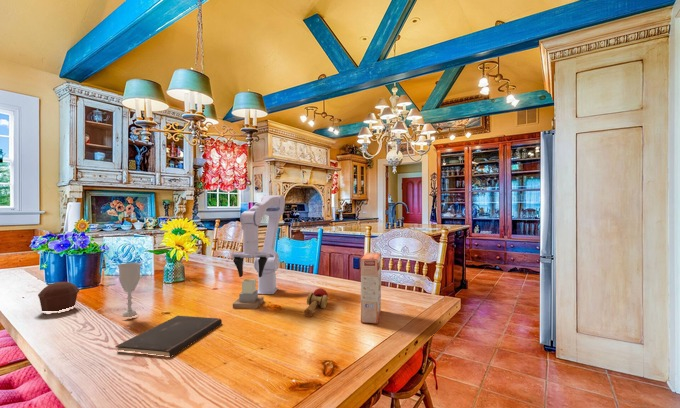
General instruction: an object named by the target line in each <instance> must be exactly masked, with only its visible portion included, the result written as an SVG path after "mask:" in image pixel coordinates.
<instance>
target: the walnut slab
mask: <svg viewBox="0 0 680 408" xmlns="http://www.w3.org/2000/svg"><path fill="white" fill-rule="evenodd" d="M263 303H264V296H258V298H257V299H256V300H255V301H254V302H239V298H238V299H236V300H235V301H234V302H232V309H233V308H250V309H251V310H252V309H254V310H256V309H257V310H258V308H259V307H260V306H261V305H262V304H263Z"/></svg>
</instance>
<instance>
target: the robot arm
mask: <svg viewBox="0 0 680 408" xmlns="http://www.w3.org/2000/svg"><path fill="white" fill-rule="evenodd" d="M285 207H286V200H285V196H284V195H282V194H280V195H276V194H275V195H270V194H269V195H266V194H264V195H262V196H261V198H260V202H255V203H254V204H253V206H251V208H249V209H248V210H244V211H243V212H241V214H240V218H239V220H240V221H239V222H240V226H241V230H242V252H231V255H230V256H231V257H230V258H231V259H233V260H232V261H233V263H234V265H235V266H236V269H237V272H238V278H242V277H243V275H244V273H243V272H244V259H254V260H253V269H254V270H255V271H256V273H257V290H258V295H274V294H275V293H276V292H277V290H279V287H277V276H276V275H277V273H276V272H277V270H278V269H279V267H280V255H279V253H278V252H277V251H275V245H276V240H277V233H278V229H279V223H280V218H281V216H282V215H284V211H285ZM264 216H267V217H268V219H267V225H266V226H267V227H266V230H265V231H266V232H265V236H264V242H263V245H262V246H263V247H262V249H260V250H259V226H260V225H261V222H262V219H263V217H264Z"/></svg>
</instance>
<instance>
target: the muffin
mask: <svg viewBox="0 0 680 408" xmlns="http://www.w3.org/2000/svg"><path fill="white" fill-rule="evenodd" d="M79 292H80V289H79V288H78V287H77V285H75V284H74V283H73V282H69V281H58V282H52V283H50V284H48V285H47V286H44V288H43V289H41V291H40V292H39V293H38V294H37V297H38V299H39V303H40V308H41V312H42V311H59V310H62V309H66V308H69V307H72V306H74V305H75V306H76V303H77V298H78V297H77V296H78V293H79Z"/></svg>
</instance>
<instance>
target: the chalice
mask: <svg viewBox="0 0 680 408" xmlns="http://www.w3.org/2000/svg"><path fill="white" fill-rule="evenodd" d="M142 264H143V263H141V262H125V263H120V264H117V268H118V272H119V273H118V280H119V284H120V286H121V288H122V289H123V291H124V292H126V293H127V297H126V300H127V302H126V305H127V309H126V310H125V311H124V312H122V315H121V317H132V316H135V315H138V313H137V311H136V310H135V309H133V308H132V304H133V302H132V299H133V297H132V292H134V291H135V290H136V289H137V286H138V284H139V282H140V279H141V267H142Z"/></svg>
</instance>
